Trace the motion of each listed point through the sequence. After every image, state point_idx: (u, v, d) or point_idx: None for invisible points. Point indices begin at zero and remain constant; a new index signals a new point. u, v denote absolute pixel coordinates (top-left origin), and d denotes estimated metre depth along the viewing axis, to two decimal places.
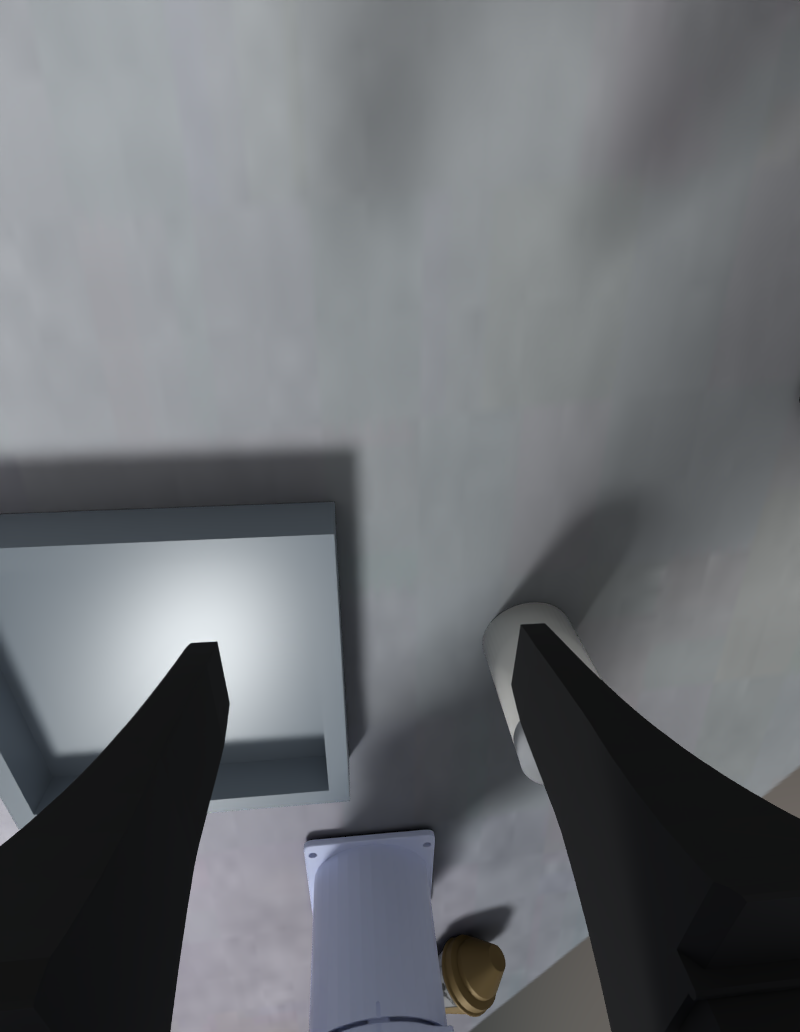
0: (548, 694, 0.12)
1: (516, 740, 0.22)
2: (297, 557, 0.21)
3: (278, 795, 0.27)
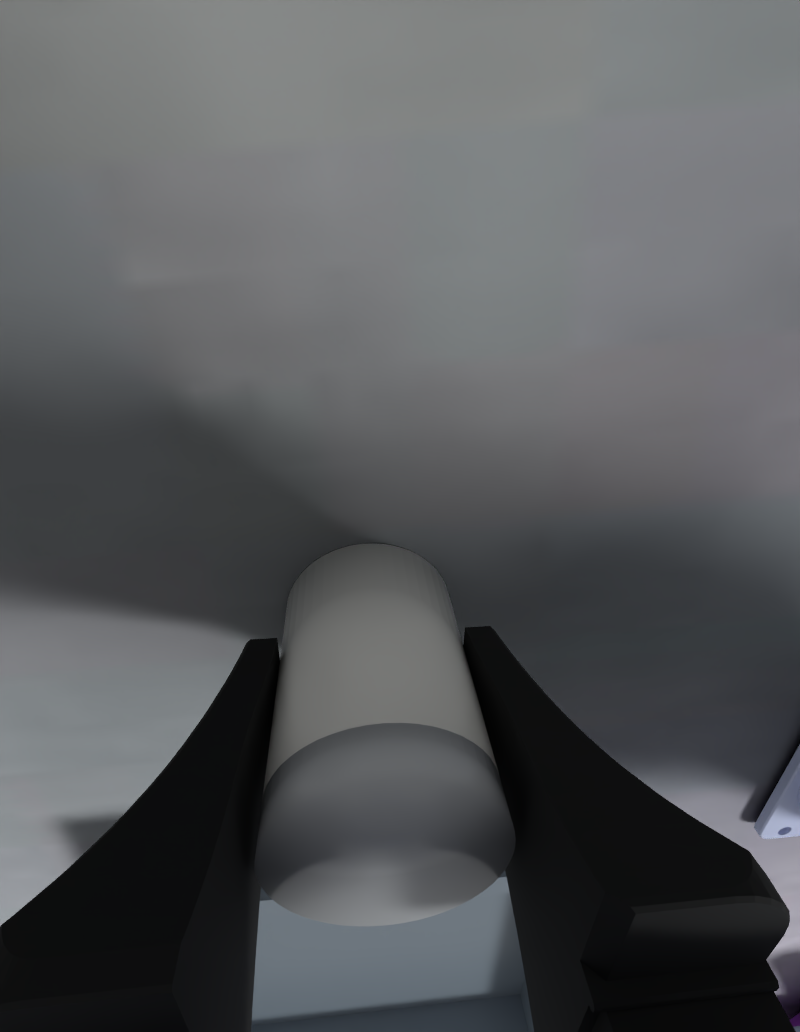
0: (485, 698, 0.11)
1: None
2: None
3: None
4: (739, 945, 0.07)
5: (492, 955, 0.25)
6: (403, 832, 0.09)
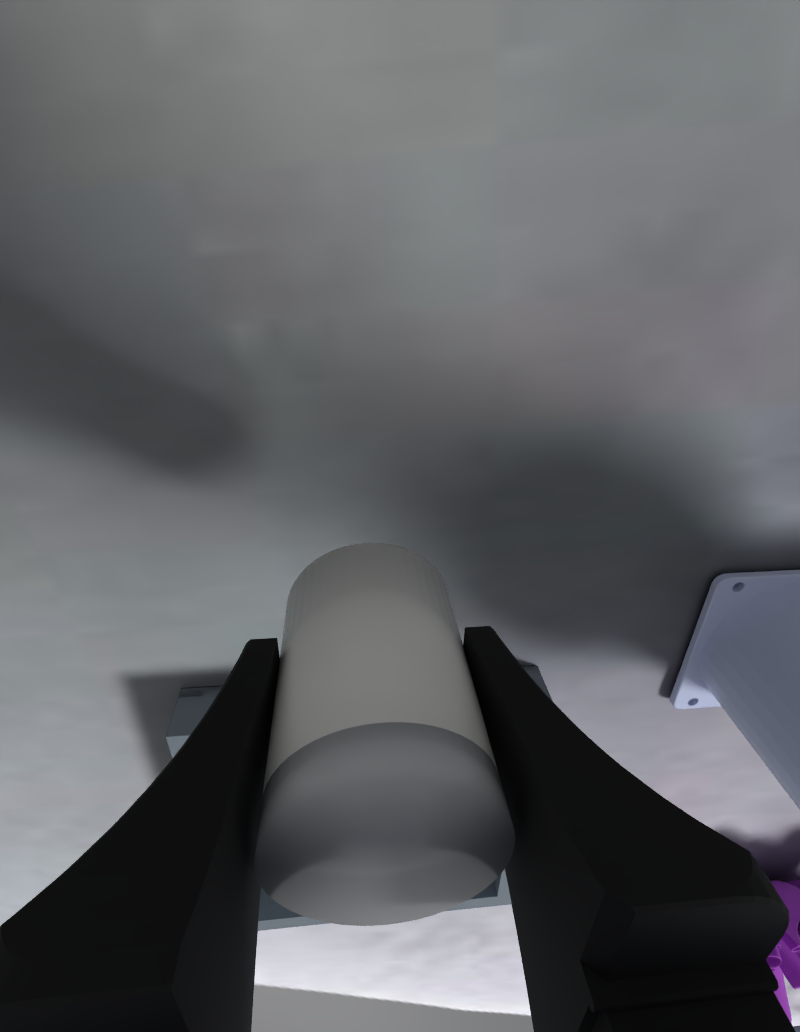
0: (485, 698, 0.11)
1: None
2: None
3: None
4: (739, 945, 0.07)
5: None
6: (402, 831, 0.09)
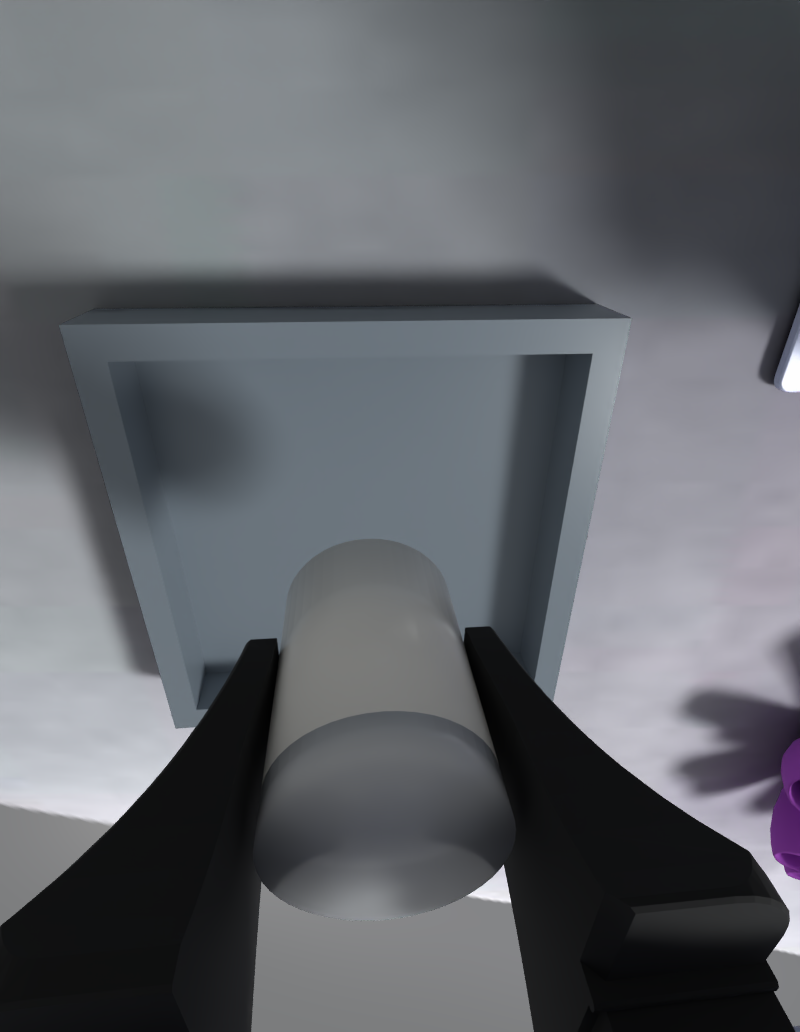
0: (485, 698, 0.11)
1: None
2: (109, 376, 0.16)
3: (580, 431, 0.18)
4: (739, 945, 0.07)
5: (489, 576, 0.23)
6: (402, 822, 0.09)
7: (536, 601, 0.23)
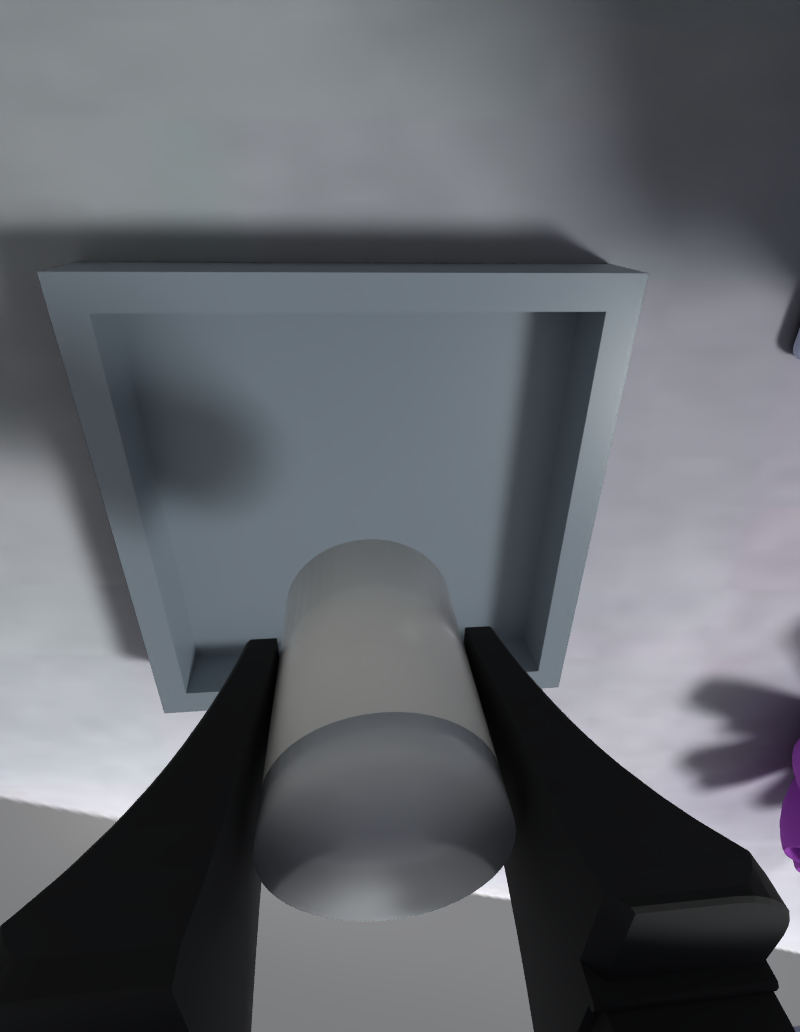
0: (485, 698, 0.11)
1: None
2: (92, 329, 0.15)
3: (592, 397, 0.17)
4: (739, 945, 0.07)
5: (493, 555, 0.22)
6: (402, 823, 0.09)
7: (542, 582, 0.22)
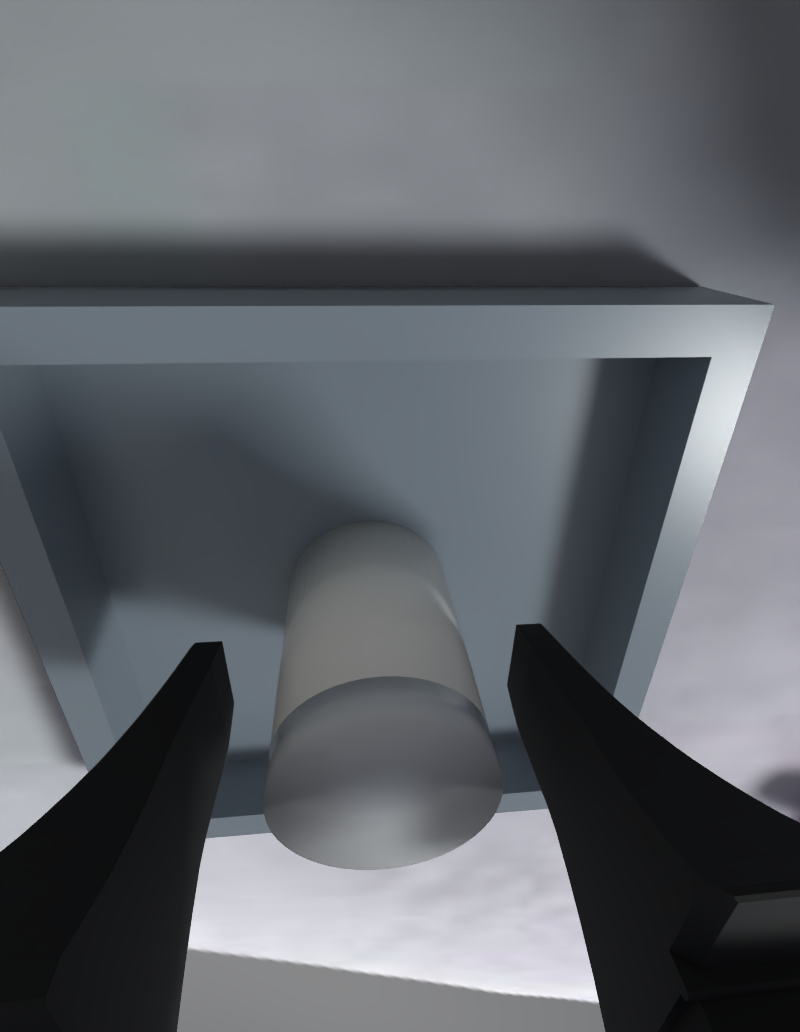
0: (543, 694, 0.12)
1: None
2: None
3: (682, 468, 0.12)
4: None
5: None
6: (399, 776, 0.10)
7: None
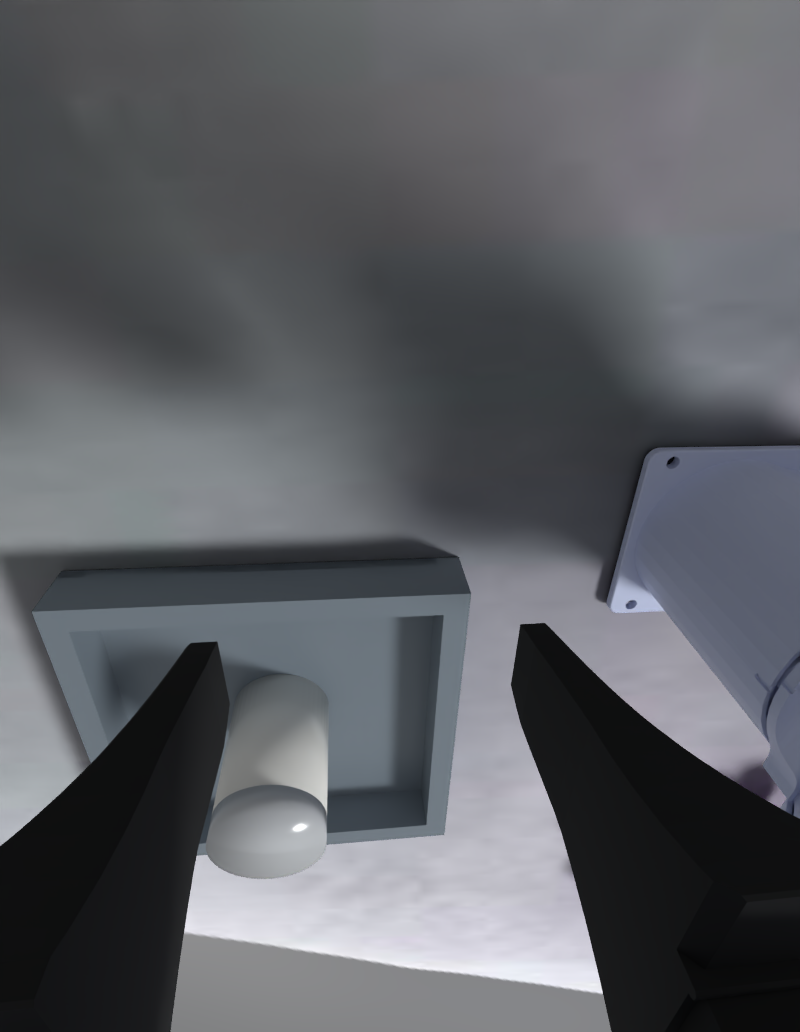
0: (548, 694, 0.12)
1: None
2: (70, 639, 0.21)
3: (441, 661, 0.23)
4: None
5: (389, 737, 0.28)
6: (272, 834, 0.20)
7: (426, 760, 0.28)
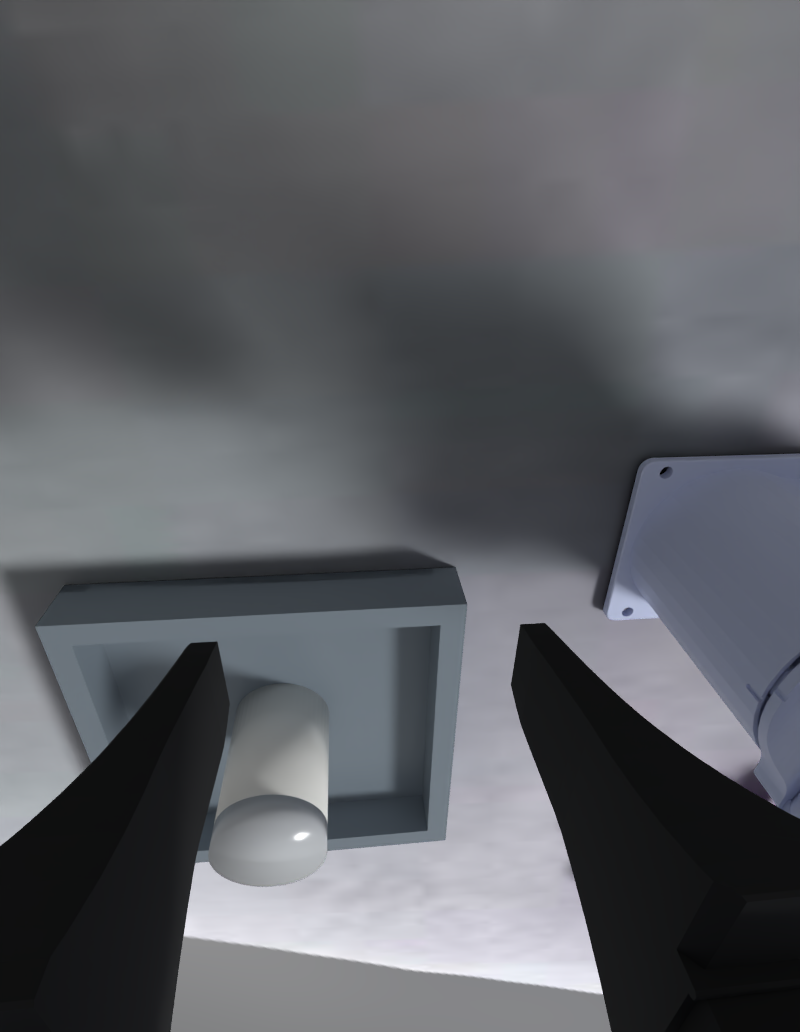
0: (548, 694, 0.12)
1: None
2: (73, 653, 0.21)
3: (439, 670, 0.23)
4: None
5: (390, 744, 0.28)
6: (273, 843, 0.21)
7: (427, 766, 0.28)
